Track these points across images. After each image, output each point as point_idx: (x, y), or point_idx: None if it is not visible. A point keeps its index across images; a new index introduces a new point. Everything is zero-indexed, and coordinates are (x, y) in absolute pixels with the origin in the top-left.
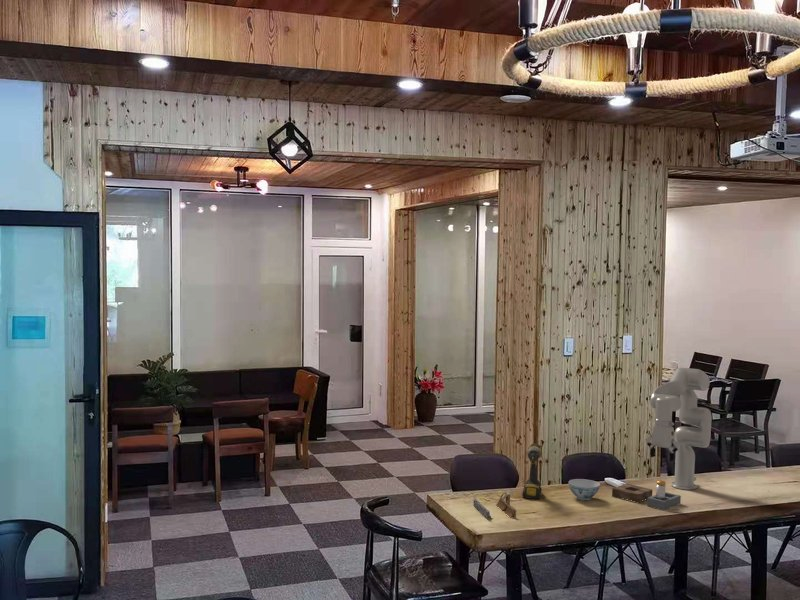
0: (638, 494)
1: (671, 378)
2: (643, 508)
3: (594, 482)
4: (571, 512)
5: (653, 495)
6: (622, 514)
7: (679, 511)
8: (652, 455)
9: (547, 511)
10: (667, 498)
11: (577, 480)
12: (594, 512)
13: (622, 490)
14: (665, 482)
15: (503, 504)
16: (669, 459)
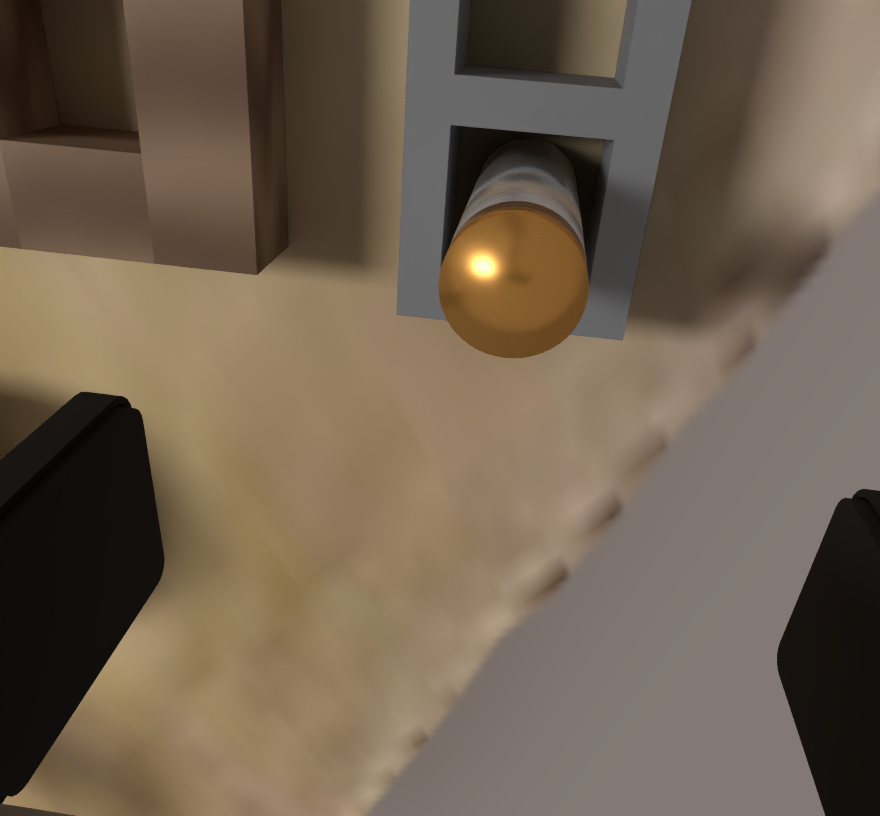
0: (256, 259)
1: None
2: (426, 383)
3: None
4: (136, 759)
5: (403, 163)
6: (382, 628)
7: (773, 220)
8: (137, 592)
9: (46, 806)
10: (594, 137)
11: None
12: (223, 692)
13: (43, 236)
14: (587, 273)
15: None
16: (789, 701)
